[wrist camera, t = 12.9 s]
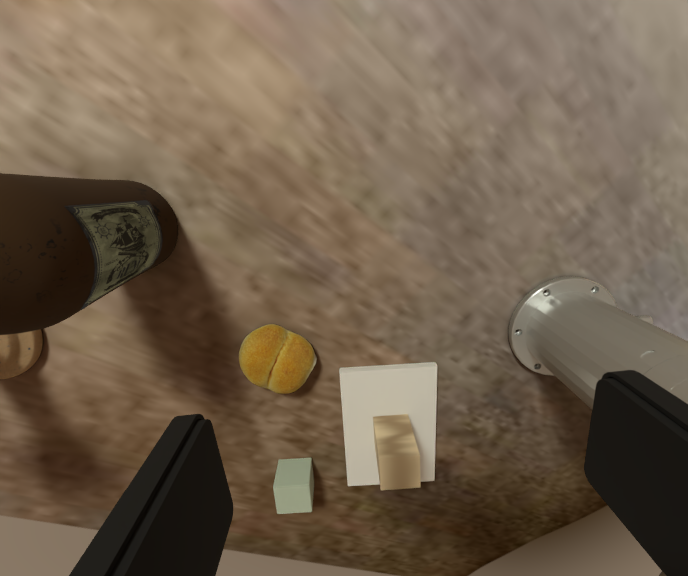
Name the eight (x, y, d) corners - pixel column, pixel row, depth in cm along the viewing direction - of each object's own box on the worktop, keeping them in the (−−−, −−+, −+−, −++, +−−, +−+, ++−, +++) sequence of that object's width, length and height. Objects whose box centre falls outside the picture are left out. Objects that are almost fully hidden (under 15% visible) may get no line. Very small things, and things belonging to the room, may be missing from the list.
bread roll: (256, 312, 41) (248, 326, 38) (324, 342, 43) (323, 358, 39) (231, 367, 44) (221, 385, 40) (297, 394, 45) (293, 414, 41)
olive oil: (90, 267, 39) (-292, 409, 15) (78, 168, 36) (-428, 154, 12) (186, 276, 40) (-42, 427, 16) (183, 180, 36) (-109, 187, 13)
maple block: (407, 414, 45) (420, 455, 38) (408, 442, 46) (420, 487, 39) (372, 416, 45) (378, 458, 38) (374, 444, 46) (380, 490, 39)
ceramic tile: (435, 362, 44) (437, 366, 43) (432, 475, 49) (434, 480, 48) (339, 367, 44) (339, 372, 43) (347, 480, 49) (347, 486, 48)
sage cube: (311, 457, 48) (308, 484, 44) (314, 482, 49) (312, 511, 45) (278, 459, 48) (273, 486, 44) (282, 484, 49) (277, 513, 45)
